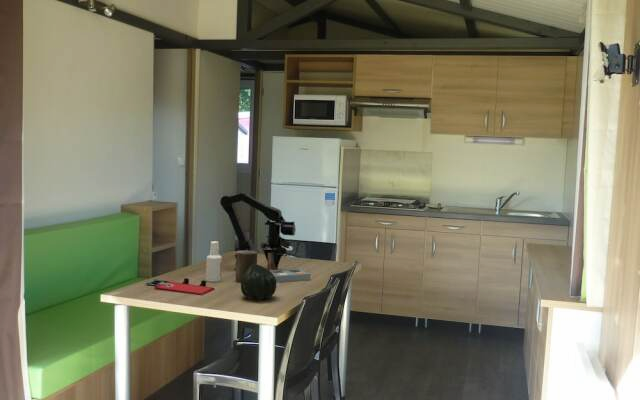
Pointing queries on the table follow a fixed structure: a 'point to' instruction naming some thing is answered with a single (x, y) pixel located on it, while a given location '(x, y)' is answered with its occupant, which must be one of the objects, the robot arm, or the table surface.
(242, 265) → the pillar candle
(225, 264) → the table surface
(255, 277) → the squash
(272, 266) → the peg
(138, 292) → the table surface
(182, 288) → the red board with handle
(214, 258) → the spray bottle
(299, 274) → the socket block
